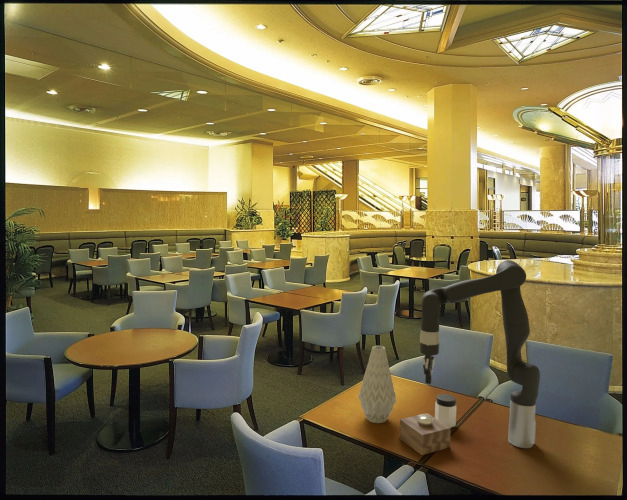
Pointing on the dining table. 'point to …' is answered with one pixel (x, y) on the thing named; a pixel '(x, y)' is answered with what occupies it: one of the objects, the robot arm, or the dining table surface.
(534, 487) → the dining table surface
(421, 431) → the pin block
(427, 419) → the pin
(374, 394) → the vase
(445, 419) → the jar
